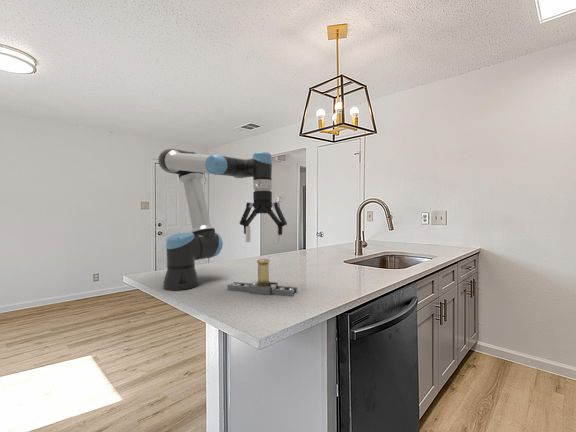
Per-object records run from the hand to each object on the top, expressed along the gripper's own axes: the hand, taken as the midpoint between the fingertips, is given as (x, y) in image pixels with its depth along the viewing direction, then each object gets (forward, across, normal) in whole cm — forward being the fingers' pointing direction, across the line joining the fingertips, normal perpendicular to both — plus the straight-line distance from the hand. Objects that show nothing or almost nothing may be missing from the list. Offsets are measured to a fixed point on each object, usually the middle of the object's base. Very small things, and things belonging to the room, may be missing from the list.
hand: (262, 242), depth 126 cm
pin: (+20, 0, 0) cm, 20 cm away
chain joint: (+20, 0, 0) cm, 20 cm away
